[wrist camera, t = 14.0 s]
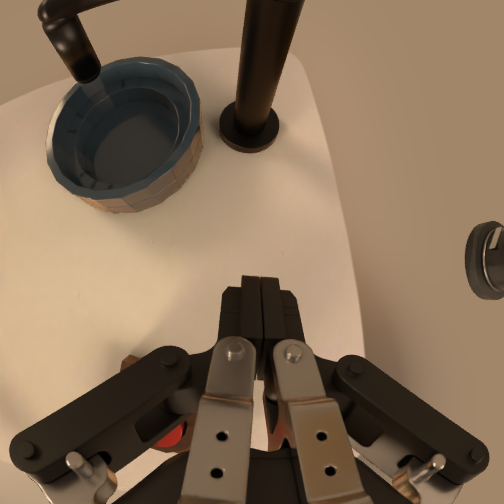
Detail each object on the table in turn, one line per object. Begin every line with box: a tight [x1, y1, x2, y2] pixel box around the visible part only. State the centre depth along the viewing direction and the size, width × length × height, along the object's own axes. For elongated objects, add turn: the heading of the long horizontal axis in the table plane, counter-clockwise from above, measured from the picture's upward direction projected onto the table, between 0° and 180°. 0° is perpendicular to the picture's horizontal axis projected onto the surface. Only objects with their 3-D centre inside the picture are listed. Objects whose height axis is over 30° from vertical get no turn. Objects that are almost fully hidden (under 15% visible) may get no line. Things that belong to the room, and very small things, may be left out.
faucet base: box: [219, 0, 305, 153], centre depth 20 cm, size 6×6×18 cm
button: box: [154, 422, 184, 447], centre depth 22 cm, size 4×4×2 cm
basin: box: [46, 57, 203, 214], centre depth 25 cm, size 15×15×6 cm
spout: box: [38, 0, 302, 84], centre depth 12 cm, size 15×4×8 cm, turn 101°
